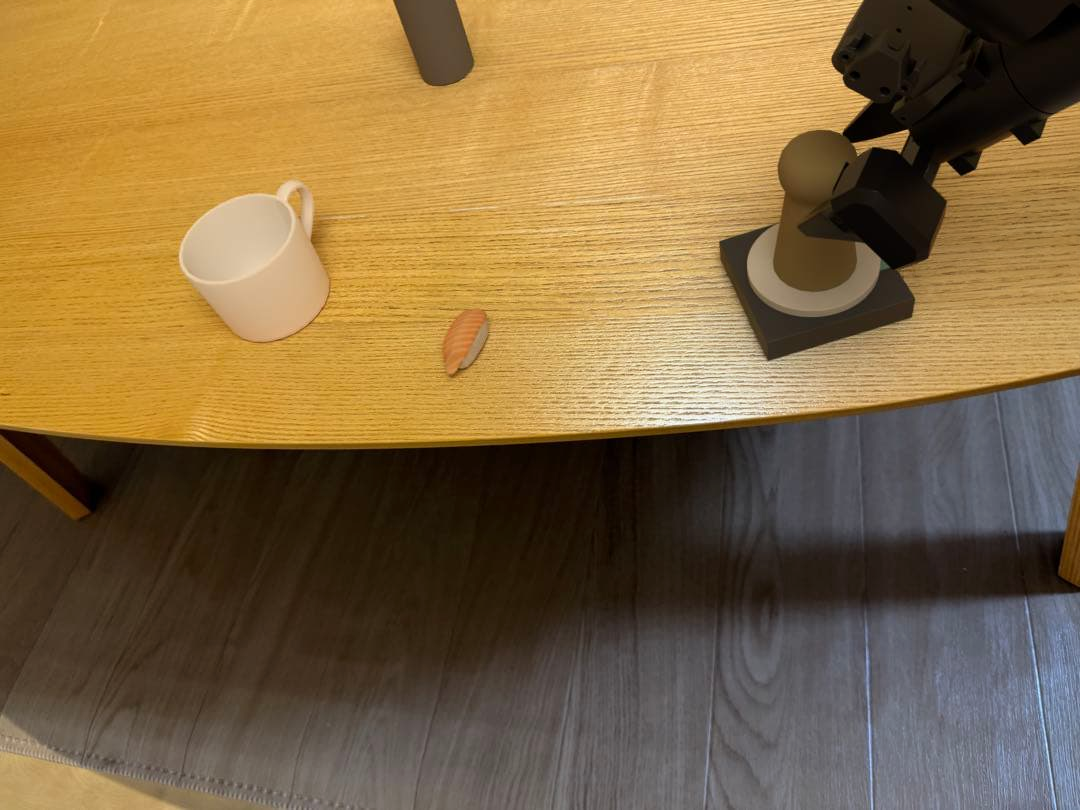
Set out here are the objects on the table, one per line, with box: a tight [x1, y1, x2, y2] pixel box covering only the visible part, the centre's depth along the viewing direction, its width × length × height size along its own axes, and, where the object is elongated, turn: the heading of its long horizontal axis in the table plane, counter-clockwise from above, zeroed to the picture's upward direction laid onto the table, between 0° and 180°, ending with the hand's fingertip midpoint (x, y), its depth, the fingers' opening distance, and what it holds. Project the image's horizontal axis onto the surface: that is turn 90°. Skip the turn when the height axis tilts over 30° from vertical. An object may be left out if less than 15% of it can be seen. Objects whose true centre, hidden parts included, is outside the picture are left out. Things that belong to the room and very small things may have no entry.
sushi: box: [442, 307, 489, 376], centre depth 75 cm, size 3×6×3 cm, turn 158°
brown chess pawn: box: [773, 129, 858, 292], centre depth 66 cm, size 6×6×11 cm
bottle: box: [392, 0, 475, 86], centre depth 93 cm, size 6×6×15 cm
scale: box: [718, 221, 916, 362], centre depth 72 cm, size 11×11×3 cm
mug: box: [178, 179, 331, 343], centre depth 82 cm, size 13×10×8 cm
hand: (825, 182), depth 64 cm, fingers open, 9 cm apart
